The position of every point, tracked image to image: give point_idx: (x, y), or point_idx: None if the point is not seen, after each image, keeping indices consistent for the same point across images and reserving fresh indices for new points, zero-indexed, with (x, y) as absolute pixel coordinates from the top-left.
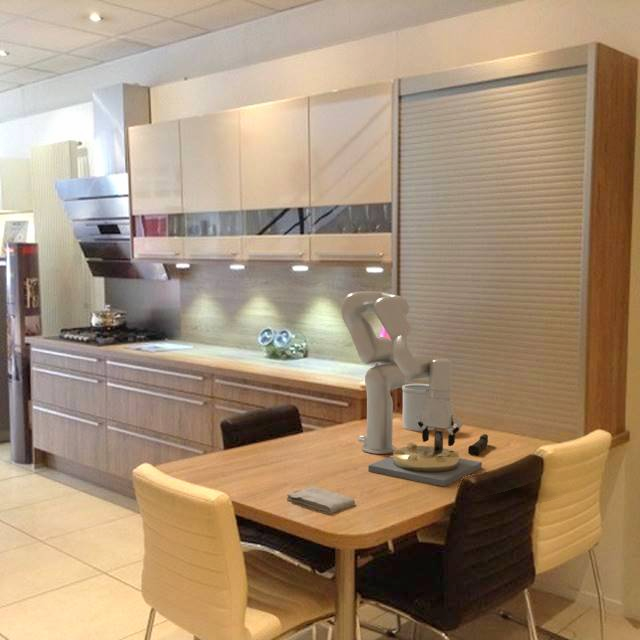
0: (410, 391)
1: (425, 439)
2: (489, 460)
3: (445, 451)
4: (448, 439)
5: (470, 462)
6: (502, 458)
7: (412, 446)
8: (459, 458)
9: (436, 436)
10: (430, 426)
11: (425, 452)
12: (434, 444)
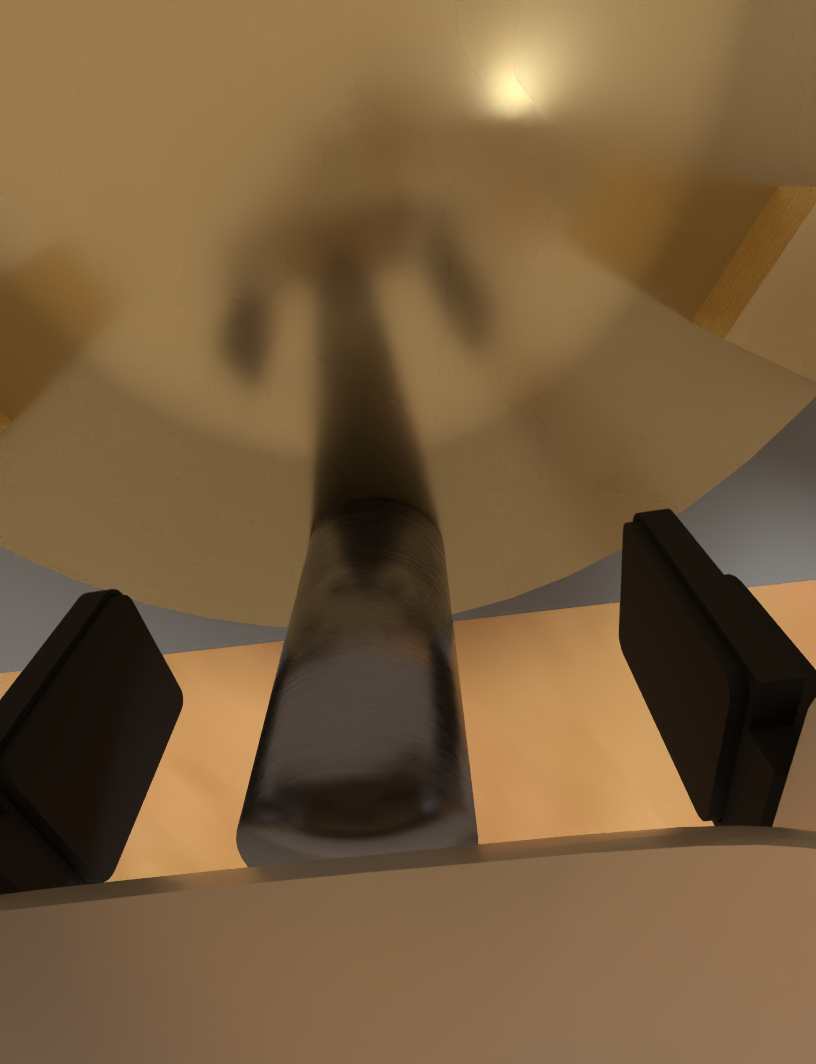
0: None
1: (636, 563)
2: (182, 803)
3: (199, 513)
4: (59, 678)
5: (26, 595)
6: (173, 871)
7: (787, 219)
8: (220, 633)
9: (358, 659)
10: (532, 852)
11: (371, 156)
12: (420, 551)
